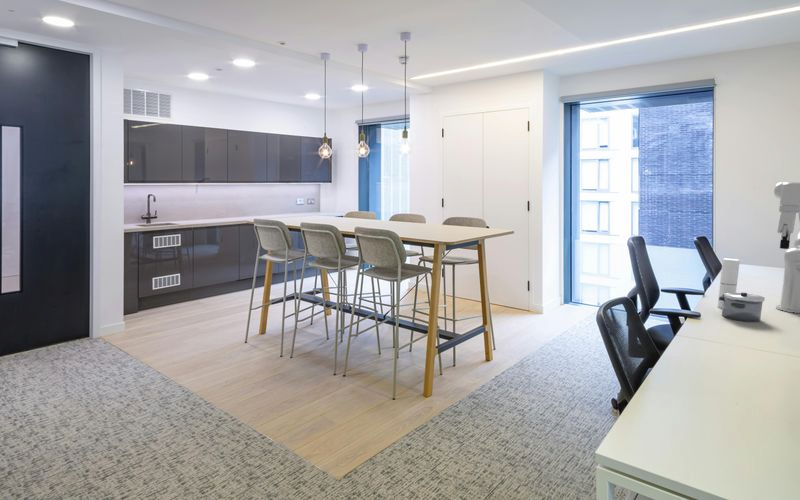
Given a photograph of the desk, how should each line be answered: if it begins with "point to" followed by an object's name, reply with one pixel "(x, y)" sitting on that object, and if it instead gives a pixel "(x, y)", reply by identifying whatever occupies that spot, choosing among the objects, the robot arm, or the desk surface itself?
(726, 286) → the cylindrical container
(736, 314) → the pot
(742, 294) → the lid
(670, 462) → the desk surface
